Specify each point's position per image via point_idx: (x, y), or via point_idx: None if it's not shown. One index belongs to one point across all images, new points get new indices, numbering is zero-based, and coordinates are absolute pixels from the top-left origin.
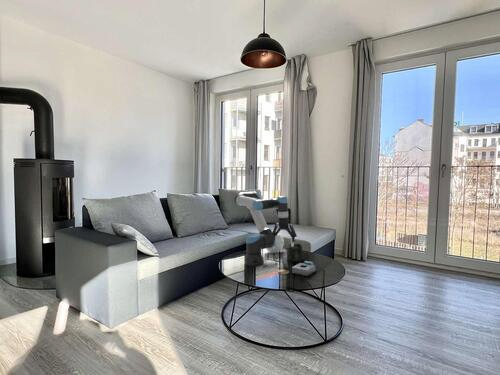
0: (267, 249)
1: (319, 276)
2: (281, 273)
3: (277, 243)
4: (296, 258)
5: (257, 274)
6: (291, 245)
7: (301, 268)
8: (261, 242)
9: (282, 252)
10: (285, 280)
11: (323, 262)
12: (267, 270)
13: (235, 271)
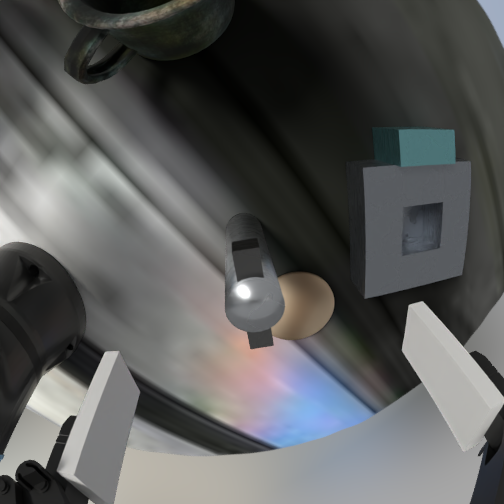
0: None
1: (485, 224)
2: (306, 336)
3: (124, 378)
4: (213, 35)
5: (200, 404)
6: (414, 360)
7: (426, 273)
8: None
9: (264, 345)
10: (371, 370)
11: None
12: (188, 343)
13: None
